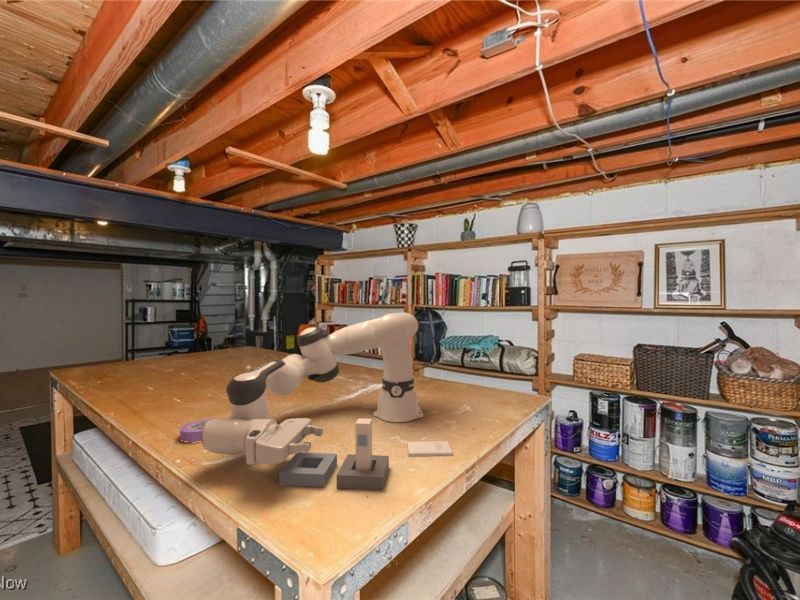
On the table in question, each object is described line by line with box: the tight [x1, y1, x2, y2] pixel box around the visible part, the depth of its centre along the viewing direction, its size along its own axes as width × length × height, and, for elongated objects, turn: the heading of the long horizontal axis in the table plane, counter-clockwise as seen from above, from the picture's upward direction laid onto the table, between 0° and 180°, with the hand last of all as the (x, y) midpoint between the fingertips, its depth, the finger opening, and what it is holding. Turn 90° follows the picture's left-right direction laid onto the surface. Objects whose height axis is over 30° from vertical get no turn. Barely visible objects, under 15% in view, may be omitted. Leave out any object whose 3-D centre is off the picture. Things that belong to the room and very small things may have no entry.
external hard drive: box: [406, 440, 453, 457], centre depth 103 cm, size 2×8×12 cm
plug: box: [355, 418, 373, 471], centre depth 87 cm, size 4×4×14 cm
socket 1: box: [278, 452, 338, 488], centre depth 89 cm, size 11×11×3 cm
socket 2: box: [336, 453, 390, 491], centre depth 87 cm, size 11×11×3 cm
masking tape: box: [179, 418, 215, 442], centre depth 114 cm, size 12×12×4 cm
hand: (316, 439), depth 88 cm, fingers open, 8 cm apart
